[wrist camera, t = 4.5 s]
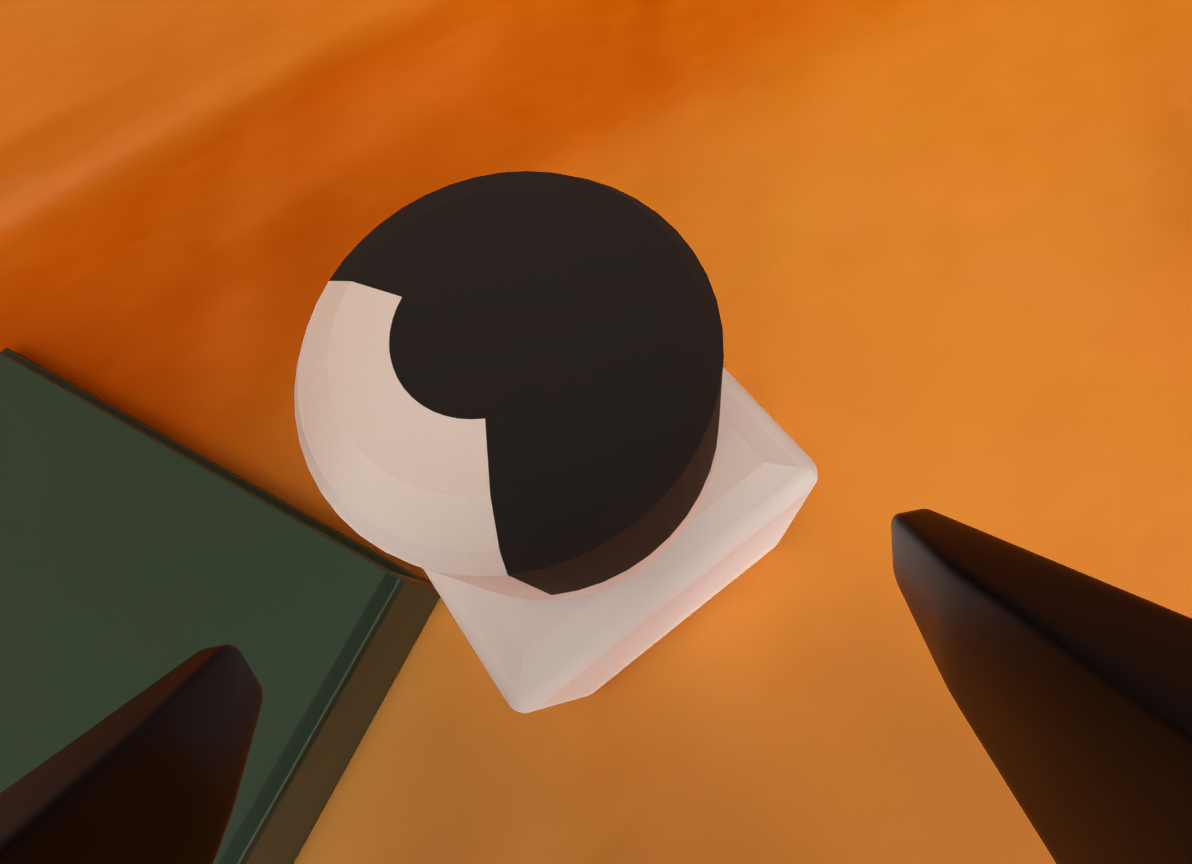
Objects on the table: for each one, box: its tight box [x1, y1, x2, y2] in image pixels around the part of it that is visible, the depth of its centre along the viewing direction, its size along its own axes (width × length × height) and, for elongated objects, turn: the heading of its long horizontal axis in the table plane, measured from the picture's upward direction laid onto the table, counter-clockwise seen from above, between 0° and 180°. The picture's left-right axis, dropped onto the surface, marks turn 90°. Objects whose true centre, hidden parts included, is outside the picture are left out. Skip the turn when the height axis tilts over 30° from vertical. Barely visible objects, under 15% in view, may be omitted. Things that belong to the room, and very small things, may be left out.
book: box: [0, 348, 440, 864], centre depth 19 cm, size 20×15×3 cm
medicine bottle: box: [294, 171, 818, 713], centre depth 14 cm, size 7×7×12 cm
